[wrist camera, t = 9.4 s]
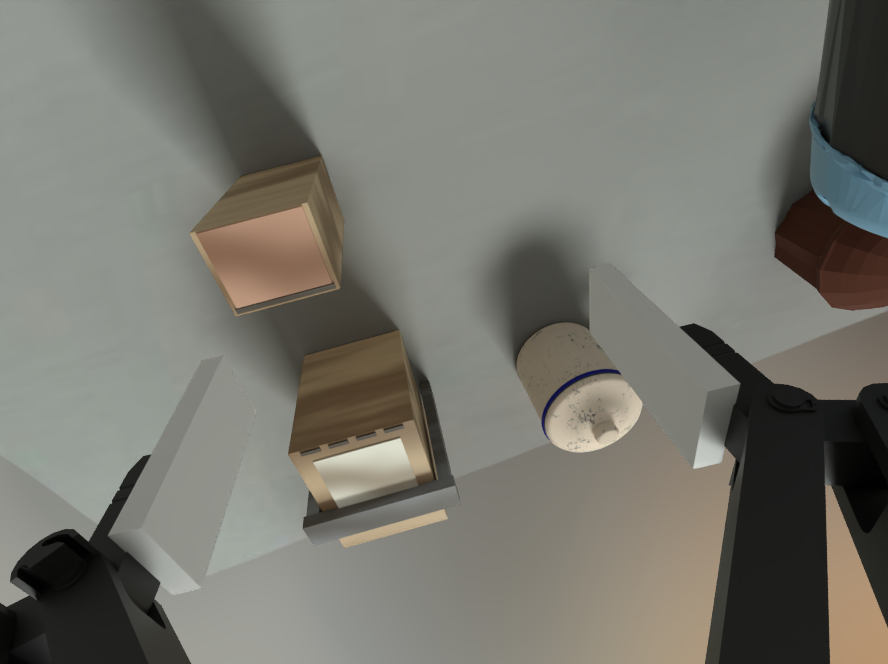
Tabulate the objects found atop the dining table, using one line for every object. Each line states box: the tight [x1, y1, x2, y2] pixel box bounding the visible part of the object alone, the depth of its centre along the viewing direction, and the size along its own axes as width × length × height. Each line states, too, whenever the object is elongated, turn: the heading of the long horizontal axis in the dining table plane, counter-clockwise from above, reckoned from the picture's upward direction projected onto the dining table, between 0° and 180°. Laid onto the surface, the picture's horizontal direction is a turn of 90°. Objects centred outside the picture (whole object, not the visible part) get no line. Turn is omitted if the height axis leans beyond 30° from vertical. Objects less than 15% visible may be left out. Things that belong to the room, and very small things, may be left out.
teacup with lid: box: [517, 322, 642, 452], centre depth 41 cm, size 12×9×12 cm
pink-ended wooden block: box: [190, 156, 344, 316], centre depth 29 cm, size 5×6×12 cm
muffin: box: [775, 189, 888, 311], centre depth 39 cm, size 12×11×10 cm
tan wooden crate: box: [288, 330, 461, 548], centre depth 39 cm, size 12×12×13 cm
